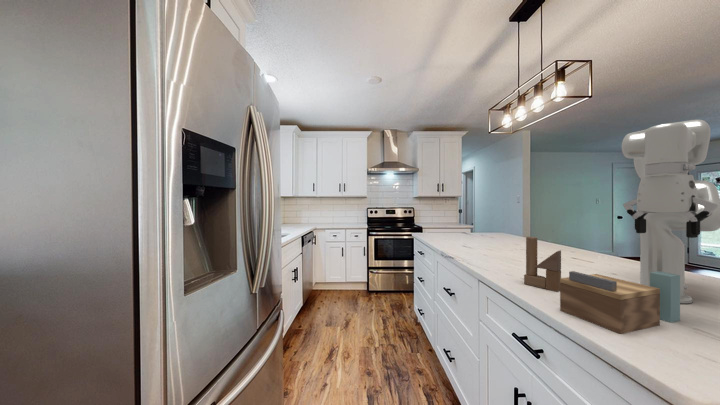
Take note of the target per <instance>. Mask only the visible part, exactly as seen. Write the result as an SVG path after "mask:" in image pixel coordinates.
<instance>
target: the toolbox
mask: <svg viewBox="0 0 720 405" xmlns="http://www.w3.org/2000/svg"><path fill="white" fill-rule="evenodd" d="M559 310H560V312H563V313H566V314H569V315H571V316H573V317H576V318H579V319H581V320H583V321H586V322H588V323H592V324H594V325H596V326H599V327H602V328H605V329H607V330H609V331H612V332H615V333H617V334H620V335H622V334H623V335H624V334H626V333H631V332H635V331H640V330H644V329H648V328H653V327H658V326H660V323H661V320H660V294H653V295H647V296H641V297H635V298H630V299H624V300H619V299H615V298H612V297H608V296H605V295H601V294H598V293H595V292H591V291H588V290H584V289H581V288H577V287H574V286H571V285H567V284H564V283H560V291H559Z"/></svg>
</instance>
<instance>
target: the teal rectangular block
mask: <svg viewBox="0 0 720 405" xmlns="http://www.w3.org/2000/svg"><path fill="white" fill-rule="evenodd" d="M650 286H651V287H655V288H659V289H660V293H659V294H660V321H664V322H667V323H669V324H670V323H675V322H680V321H681V303H680V275H676V274H671V273H665V272H660V271H658V272H650Z"/></svg>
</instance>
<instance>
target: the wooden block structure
mask: <svg viewBox="0 0 720 405" xmlns="http://www.w3.org/2000/svg"><path fill="white" fill-rule="evenodd" d="M538 269H542V270H545V276H543V275H538ZM561 270H562V250H557V251H556V252H554V253H552V254H551V255H550V256H548V257H547V258H546V259H544V260H543V261H540V262H539V263H538V237H537V236H526V237H525V274H523V284H524V285H527V286H532V287H537V288H540V289H544V290H545V289H546V291H547V290H549V291H552V292H556V293H557V292H560V278H562V271H561Z"/></svg>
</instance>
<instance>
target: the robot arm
mask: <svg viewBox="0 0 720 405" xmlns="http://www.w3.org/2000/svg"><path fill="white" fill-rule="evenodd" d="M711 133H712V132H711V127H710V125H709V124H708V122H706V121H705V120H704V119H703V120H702V119H690V120H683V121H677V122H669V123H661V124H657V125H653V126H650V127H648V128H647V129H643V130H638V131H633V132H629V133H627V134H626V135H625V136H624V137H623V140H622V141H621V142H622V143H621V152H622V154H623V156H624V157H625V158H627V159H631V160H632V159H633V165H634V169H635V170H634V171H635V172H636V174H637V176H638V177H639V178H640V182H639V184H638V189H637V194H636V196H637V197H636V198H635V199H632V200H629V201H627V202H624V203H623V205H622V206H623V208H624V209H625V211H626V213H627V214H628V215H629V216H631V218H632V219H634V230H635V233H636V234H639V236H640V237H639V238H640V240H639V241H640V250H639V251H640V254H639V255H640V259H639V262H640V265H639V268H640V270H639V271H640V272H639V273H640V274H639V276H640V278H639V279H640V283H639V284H642V285H646V286H650V272H658V271H660V272H665V273H671V274H676V275H680V304H692V303H693V297H691V296H690V295H688V294H685V293H686V292H685V290H688V288H689V286H688V284H687V283H685V279H686V278H685V277H686V276H685V273H686V272H685V271H686V270H685V267H686V266H685V265H686V264H685V262H686V260H685V255H686V254H685V252H686V249H685V243H684V242H683V241H682V240H681V238H680V237H678V236H677V235H675V234H674V233H673V232H672V231H685V233H686V235H685V236H686V238H687V239H688V238H689V239H690V238H691V239H693V238H694V239H695V238H699V237H698V236H699V235H700V234H701V232H708V233H709V232H715V231H717V230H719V229H720V195H719V191H718V188H717V186H716V185H715V184H714V183H713V182H712V181H709V180H704V179H703V180H695V178H694V175H693V174H689V172H690V171H692V170H696V168H697V166H696V165H700V164H702V163H703V162H705V160H706V158H707V155H708V150H709V146H710V140H711ZM635 205H636V209H634V206H635Z"/></svg>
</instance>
